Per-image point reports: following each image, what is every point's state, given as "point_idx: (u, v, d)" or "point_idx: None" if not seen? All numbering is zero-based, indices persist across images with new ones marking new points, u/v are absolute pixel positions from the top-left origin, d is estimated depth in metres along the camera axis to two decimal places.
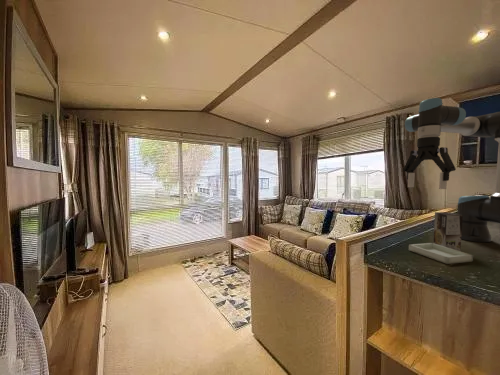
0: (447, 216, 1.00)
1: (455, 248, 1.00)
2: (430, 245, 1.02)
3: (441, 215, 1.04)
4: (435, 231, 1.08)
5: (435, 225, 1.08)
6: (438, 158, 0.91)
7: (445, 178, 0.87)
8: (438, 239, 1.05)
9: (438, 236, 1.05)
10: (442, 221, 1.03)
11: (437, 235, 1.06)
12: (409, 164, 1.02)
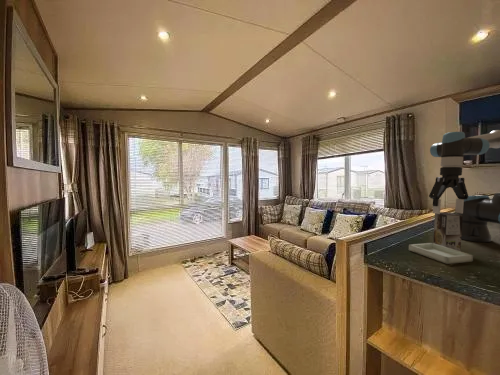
0: (447, 216, 1.00)
1: (455, 248, 1.00)
2: (430, 245, 1.02)
3: (441, 215, 1.04)
4: (435, 231, 1.08)
5: (435, 225, 1.08)
6: (443, 186, 1.02)
7: None
8: (438, 239, 1.05)
9: (438, 236, 1.05)
10: (442, 221, 1.03)
11: (437, 235, 1.06)
12: None
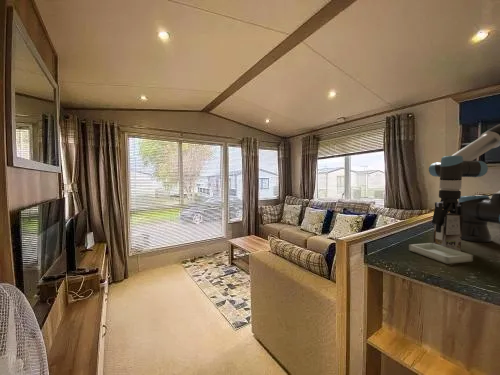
0: (447, 216, 1.00)
1: (455, 248, 1.00)
2: (430, 245, 1.02)
3: None
4: (435, 231, 1.08)
5: (435, 225, 1.08)
6: (443, 211, 1.03)
7: None
8: None
9: None
10: None
11: None
12: None
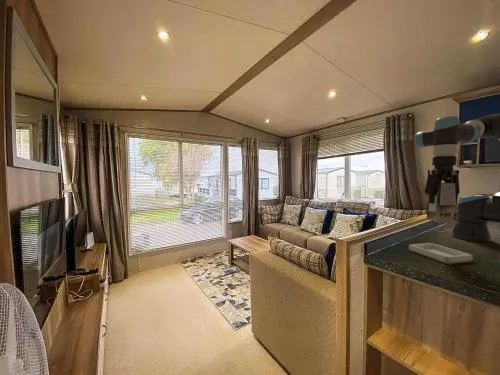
0: (441, 184, 0.89)
1: (450, 220, 0.89)
2: (430, 245, 1.02)
3: None
4: (428, 203, 0.97)
5: (428, 197, 0.97)
6: (437, 179, 0.92)
7: None
8: (431, 211, 0.95)
9: None
10: None
11: None
12: None
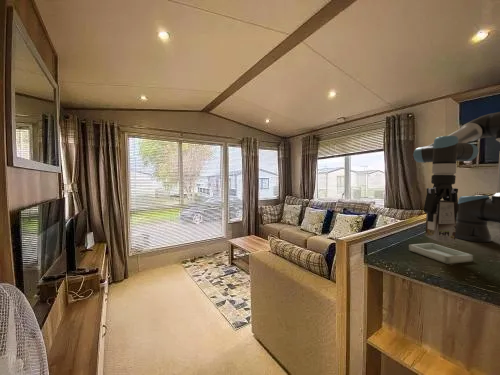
0: (440, 203, 0.90)
1: (449, 239, 0.90)
2: (430, 245, 1.02)
3: None
4: (427, 221, 0.97)
5: (427, 214, 0.97)
6: (436, 198, 0.92)
7: None
8: (430, 229, 0.95)
9: None
10: None
11: None
12: None
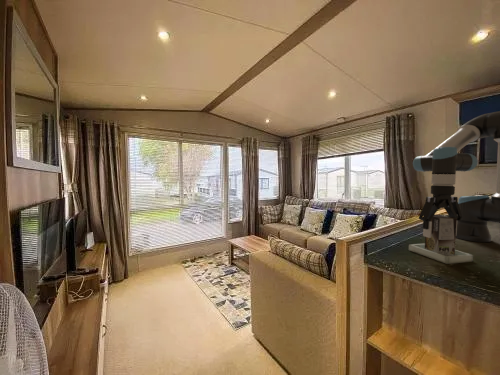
0: (440, 219, 0.90)
1: (449, 255, 0.90)
2: None
3: (433, 218, 0.93)
4: None
5: None
6: (434, 207, 0.92)
7: None
8: (430, 244, 0.95)
9: (430, 241, 0.95)
10: (434, 224, 0.93)
11: (429, 240, 0.96)
12: None
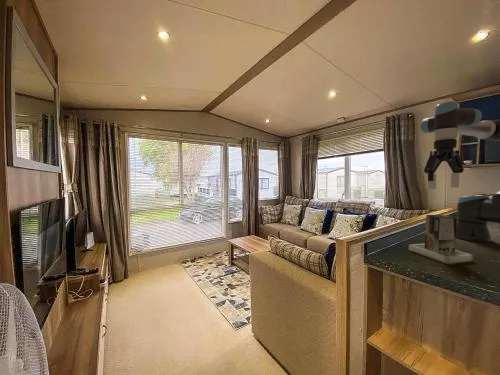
0: (440, 219, 0.90)
1: (449, 255, 0.90)
2: None
3: (433, 218, 0.94)
4: (426, 235, 0.98)
5: (426, 229, 0.98)
6: (438, 160, 0.97)
7: None
8: (430, 244, 0.95)
9: (430, 241, 0.95)
10: (434, 224, 0.93)
11: (429, 240, 0.96)
12: None
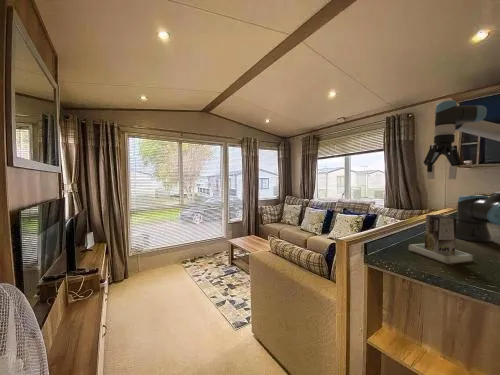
0: (440, 219, 0.90)
1: (449, 255, 0.90)
2: None
3: (433, 218, 0.94)
4: (426, 235, 0.98)
5: (426, 229, 0.98)
6: (437, 153, 1.07)
7: None
8: (430, 244, 0.95)
9: (430, 241, 0.95)
10: (434, 224, 0.93)
11: (429, 240, 0.96)
12: None
